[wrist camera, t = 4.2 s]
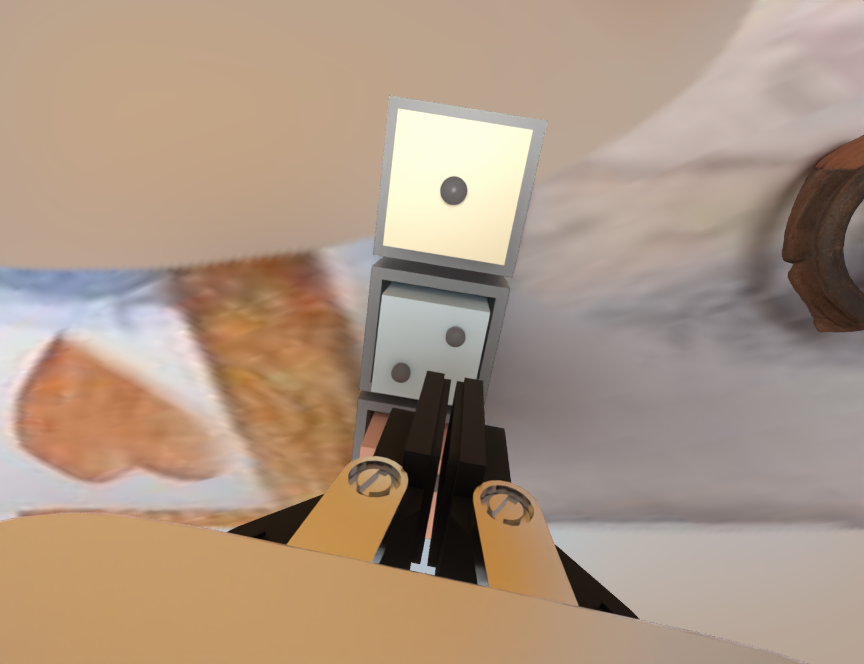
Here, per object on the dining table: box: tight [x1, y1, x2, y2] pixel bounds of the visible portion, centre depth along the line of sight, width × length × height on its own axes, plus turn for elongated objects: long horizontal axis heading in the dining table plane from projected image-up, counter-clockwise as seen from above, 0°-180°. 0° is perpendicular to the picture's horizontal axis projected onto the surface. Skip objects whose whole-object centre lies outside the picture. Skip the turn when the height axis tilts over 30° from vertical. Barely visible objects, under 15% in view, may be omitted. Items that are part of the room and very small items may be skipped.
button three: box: [359, 411, 448, 539], centre depth 20 cm, size 4×4×4 cm
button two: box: [371, 281, 490, 405], centre depth 18 cm, size 4×4×4 cm
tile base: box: [352, 390, 452, 461], centre depth 22 cm, size 6×6×3 cm
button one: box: [383, 109, 533, 265], centre depth 15 cm, size 4×4×4 cm
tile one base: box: [373, 95, 547, 277], centre depth 17 cm, size 6×6×3 cm
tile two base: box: [359, 256, 510, 404], centre depth 19 cm, size 6×6×3 cm
